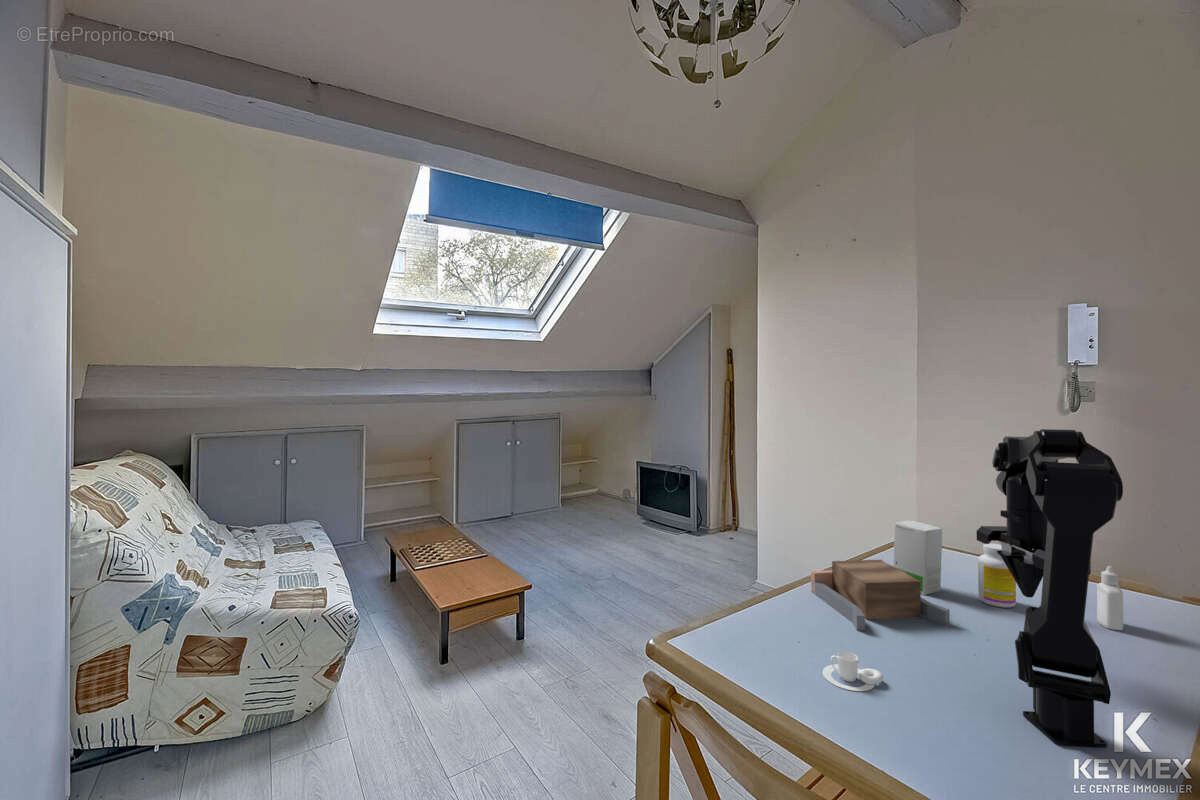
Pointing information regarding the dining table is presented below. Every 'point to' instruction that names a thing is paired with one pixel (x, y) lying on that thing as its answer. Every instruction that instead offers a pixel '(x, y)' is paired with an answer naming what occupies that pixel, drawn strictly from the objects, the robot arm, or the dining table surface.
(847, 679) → the teacup and saucer
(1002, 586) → the supplement bottle
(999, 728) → the dining table surface
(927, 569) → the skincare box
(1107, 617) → the eye dropper bottle
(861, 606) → the walnut box
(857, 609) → the box pocket
